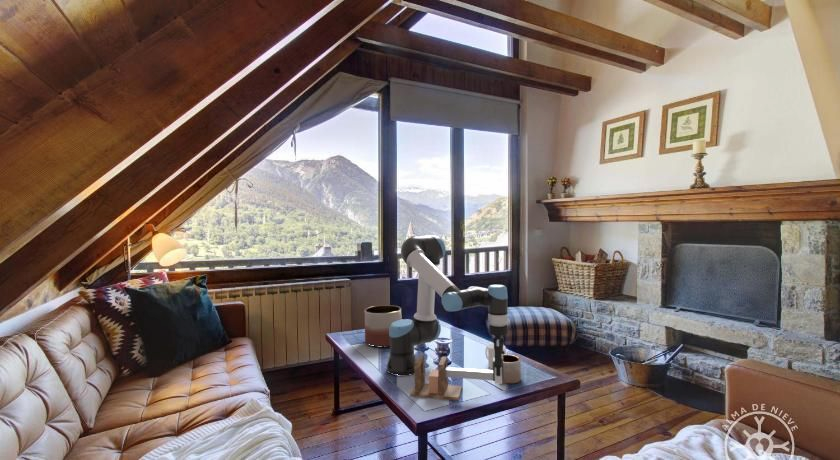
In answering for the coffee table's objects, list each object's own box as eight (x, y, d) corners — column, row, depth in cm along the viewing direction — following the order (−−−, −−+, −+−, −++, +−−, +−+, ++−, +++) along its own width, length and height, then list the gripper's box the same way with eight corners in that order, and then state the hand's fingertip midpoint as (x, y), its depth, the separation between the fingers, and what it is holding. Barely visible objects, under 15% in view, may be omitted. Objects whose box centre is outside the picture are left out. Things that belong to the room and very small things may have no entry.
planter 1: (401, 348, 223) (400, 313, 222) (362, 349, 223) (361, 313, 222) (403, 336, 245) (402, 304, 244) (368, 337, 245) (367, 305, 244)
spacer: (428, 392, 162) (428, 376, 162) (432, 385, 169) (432, 369, 169) (438, 393, 161) (438, 376, 161) (441, 386, 168) (441, 370, 168)
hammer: (443, 377, 162) (443, 358, 162) (445, 373, 166) (444, 354, 166) (503, 381, 156) (503, 361, 156) (503, 377, 160) (503, 358, 160)
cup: (497, 371, 185) (496, 350, 185) (479, 364, 195) (479, 344, 195) (509, 367, 190) (509, 346, 190) (492, 360, 200) (491, 340, 200)
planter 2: (493, 375, 181) (492, 354, 181) (516, 374, 182) (515, 353, 182) (500, 385, 170) (499, 363, 170) (524, 383, 171) (524, 362, 171)
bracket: (409, 396, 162) (409, 363, 162) (416, 385, 173) (415, 354, 172) (458, 400, 157) (457, 366, 157) (462, 388, 168) (461, 357, 167)
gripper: (507, 333, 145) (508, 390, 145) (508, 316, 169) (509, 365, 170) (486, 332, 147) (487, 388, 147) (490, 315, 171) (491, 364, 171)
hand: (499, 376), depth 158 cm, fingers open, 13 cm apart
